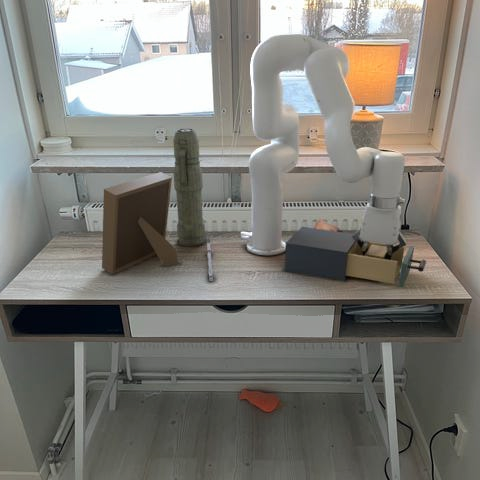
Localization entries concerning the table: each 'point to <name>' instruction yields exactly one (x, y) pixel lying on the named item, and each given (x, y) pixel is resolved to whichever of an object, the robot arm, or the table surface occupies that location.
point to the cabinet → (318, 253)
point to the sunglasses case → (325, 226)
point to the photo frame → (136, 223)
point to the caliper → (209, 259)
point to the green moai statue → (188, 188)
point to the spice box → (377, 251)
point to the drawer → (381, 265)
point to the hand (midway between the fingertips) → (375, 264)
